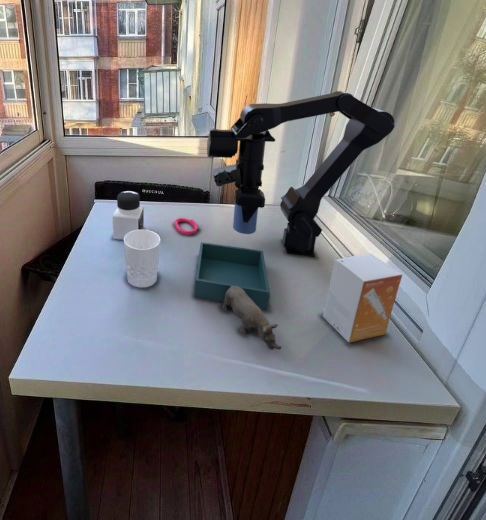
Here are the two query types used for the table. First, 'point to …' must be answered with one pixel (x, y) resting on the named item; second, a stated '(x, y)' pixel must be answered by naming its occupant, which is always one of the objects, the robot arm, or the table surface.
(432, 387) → the table surface
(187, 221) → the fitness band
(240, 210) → the bottle
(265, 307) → the tray
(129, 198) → the medicine bottle
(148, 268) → the white cup
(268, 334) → the rhino figurine
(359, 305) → the small box
